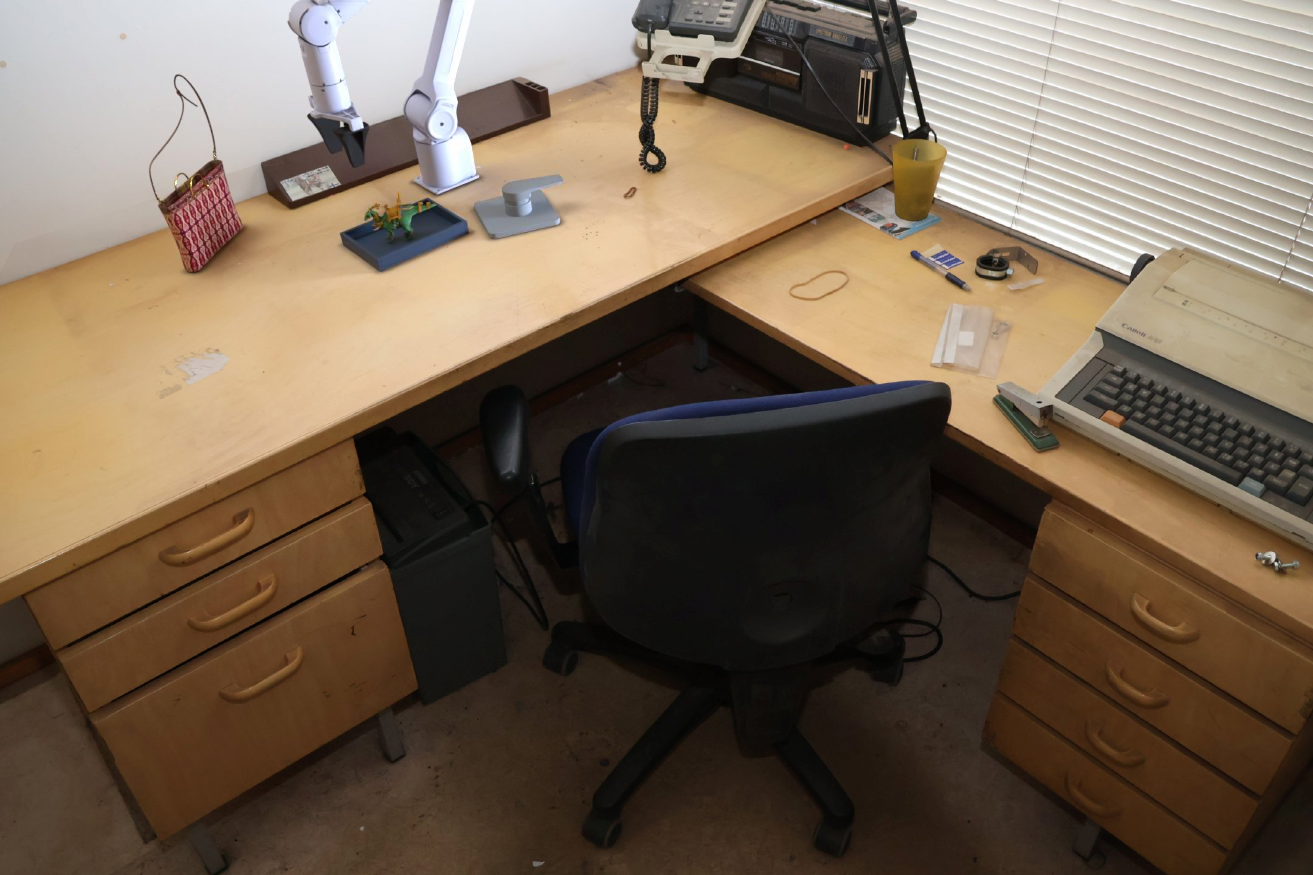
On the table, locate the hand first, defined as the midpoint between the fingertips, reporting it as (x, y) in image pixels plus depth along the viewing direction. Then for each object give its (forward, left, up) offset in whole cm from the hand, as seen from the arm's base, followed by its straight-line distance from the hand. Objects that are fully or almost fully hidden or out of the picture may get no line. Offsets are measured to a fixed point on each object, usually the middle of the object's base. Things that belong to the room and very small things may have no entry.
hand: (347, 158), depth 171 cm
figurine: (0, +16, -9) cm, 18 cm away
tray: (0, +16, -9) cm, 18 cm away
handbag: (+24, -8, -10) cm, 27 cm away
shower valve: (-19, +23, -10) cm, 31 cm away
